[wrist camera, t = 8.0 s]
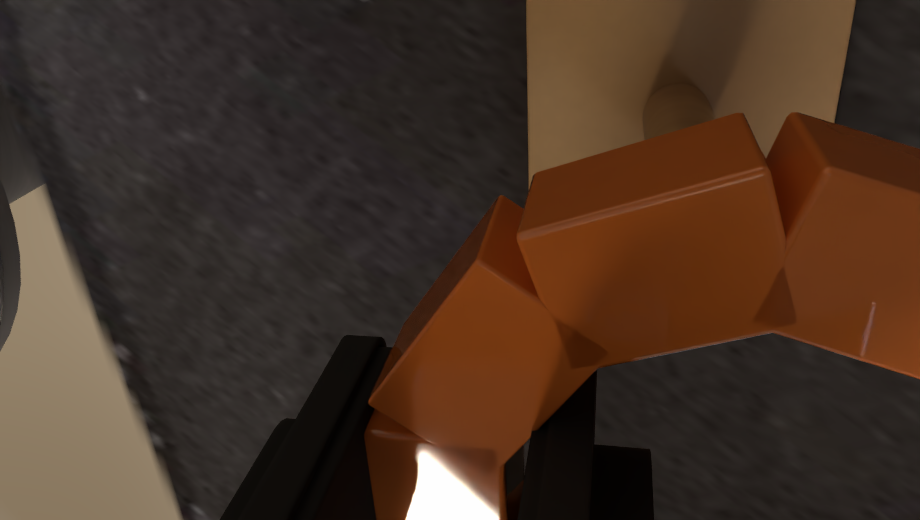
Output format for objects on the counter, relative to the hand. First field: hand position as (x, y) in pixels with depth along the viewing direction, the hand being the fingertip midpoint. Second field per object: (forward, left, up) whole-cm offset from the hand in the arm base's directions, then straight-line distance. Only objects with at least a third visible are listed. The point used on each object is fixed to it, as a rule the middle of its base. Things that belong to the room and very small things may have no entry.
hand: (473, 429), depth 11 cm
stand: (+4, 0, -16) cm, 17 cm away
